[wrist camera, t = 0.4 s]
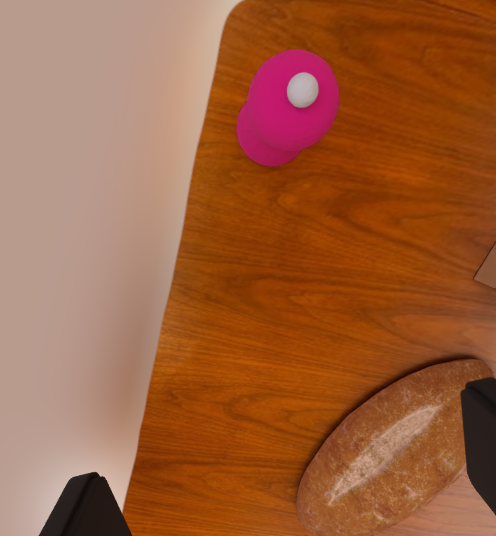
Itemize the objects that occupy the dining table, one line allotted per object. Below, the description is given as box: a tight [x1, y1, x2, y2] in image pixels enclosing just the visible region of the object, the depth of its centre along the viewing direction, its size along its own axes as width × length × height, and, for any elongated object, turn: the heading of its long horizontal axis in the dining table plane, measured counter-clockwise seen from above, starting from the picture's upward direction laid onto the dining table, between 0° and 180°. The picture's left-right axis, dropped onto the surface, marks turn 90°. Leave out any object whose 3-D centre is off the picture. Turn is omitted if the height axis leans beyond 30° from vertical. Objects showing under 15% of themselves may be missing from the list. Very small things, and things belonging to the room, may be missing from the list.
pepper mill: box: [236, 49, 339, 166], centre depth 28 cm, size 7×7×20 cm
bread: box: [296, 359, 494, 536], centre depth 45 cm, size 18×35×9 cm, turn 138°
